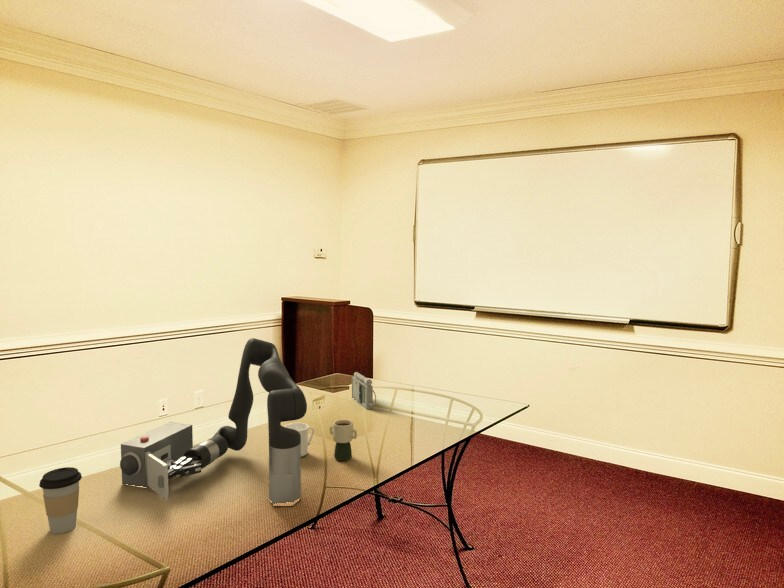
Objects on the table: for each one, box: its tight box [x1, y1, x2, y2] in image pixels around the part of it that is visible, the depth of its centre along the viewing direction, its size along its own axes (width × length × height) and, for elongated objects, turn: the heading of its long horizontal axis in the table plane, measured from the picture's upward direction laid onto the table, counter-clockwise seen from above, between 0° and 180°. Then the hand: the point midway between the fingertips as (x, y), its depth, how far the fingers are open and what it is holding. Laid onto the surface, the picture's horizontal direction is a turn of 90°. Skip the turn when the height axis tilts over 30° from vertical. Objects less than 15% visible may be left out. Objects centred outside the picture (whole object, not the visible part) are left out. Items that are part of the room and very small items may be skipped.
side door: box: [145, 452, 169, 500], centre depth 155 cm, size 13×2×10 cm, turn 47°
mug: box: [283, 422, 315, 459], centre depth 188 cm, size 11×9×10 cm
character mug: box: [329, 419, 358, 461], centre depth 185 cm, size 11×7×13 cm, turn 65°
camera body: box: [119, 421, 194, 487], centre depth 171 cm, size 24×10×14 cm, turn 162°
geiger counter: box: [351, 371, 377, 410], centre depth 248 cm, size 14×6×25 cm
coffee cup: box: [38, 466, 83, 535], centre depth 137 cm, size 9×9×15 cm
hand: (164, 477), depth 154 cm, fingers closed
